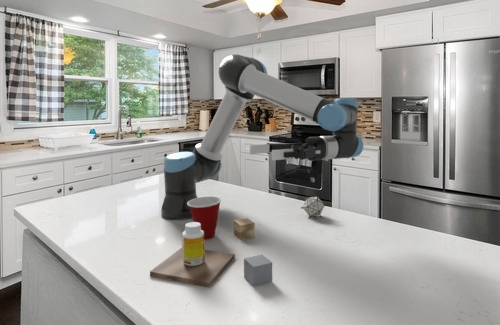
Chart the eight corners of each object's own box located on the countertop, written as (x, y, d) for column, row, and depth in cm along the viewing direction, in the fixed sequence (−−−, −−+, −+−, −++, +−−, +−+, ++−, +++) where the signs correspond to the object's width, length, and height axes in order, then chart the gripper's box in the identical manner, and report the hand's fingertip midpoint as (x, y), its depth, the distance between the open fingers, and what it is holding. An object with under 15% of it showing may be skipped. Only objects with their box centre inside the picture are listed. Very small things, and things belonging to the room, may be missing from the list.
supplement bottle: (207, 264, 87) (206, 226, 85) (186, 268, 84) (185, 229, 83) (201, 255, 92) (200, 219, 90) (180, 259, 89) (179, 222, 88)
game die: (317, 227, 127) (326, 211, 121) (296, 218, 129) (304, 202, 122) (322, 210, 134) (331, 194, 127) (301, 201, 135) (309, 185, 128)
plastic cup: (189, 230, 114) (188, 195, 112) (221, 229, 115) (221, 195, 113) (186, 243, 103) (184, 205, 101) (221, 242, 104) (221, 204, 102)
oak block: (240, 240, 106) (240, 225, 105) (234, 235, 110) (233, 220, 109) (254, 237, 108) (254, 222, 107) (248, 232, 112) (247, 218, 111)
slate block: (253, 287, 78) (253, 266, 77) (244, 277, 83) (243, 258, 82) (272, 282, 80) (272, 262, 80) (261, 273, 85) (262, 254, 84)
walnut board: (150, 276, 83) (149, 271, 83) (183, 250, 98) (183, 246, 98) (209, 287, 78) (209, 282, 78) (234, 258, 93) (234, 254, 93)
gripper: (346, 166, 97) (283, 172, 88) (297, 155, 119) (242, 159, 110) (347, 139, 96) (283, 143, 87) (297, 133, 118) (242, 135, 109)
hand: (260, 152), depth 98 cm, fingers open, 13 cm apart
